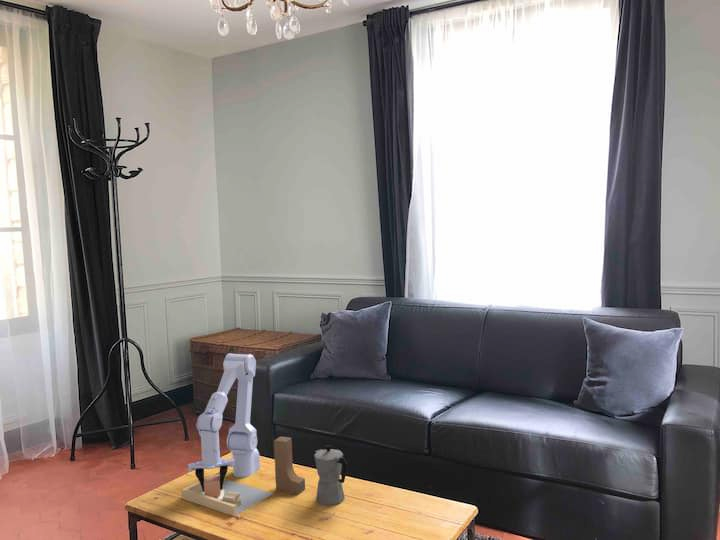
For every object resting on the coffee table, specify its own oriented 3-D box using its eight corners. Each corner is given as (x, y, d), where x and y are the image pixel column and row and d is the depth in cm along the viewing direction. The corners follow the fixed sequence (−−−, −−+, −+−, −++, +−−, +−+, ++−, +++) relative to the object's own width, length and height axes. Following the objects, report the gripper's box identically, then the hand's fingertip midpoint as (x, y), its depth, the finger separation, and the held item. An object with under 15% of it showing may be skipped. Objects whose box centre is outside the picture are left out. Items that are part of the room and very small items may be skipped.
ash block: (229, 503, 190) (229, 491, 190) (240, 504, 189) (240, 492, 188) (223, 509, 186) (222, 496, 186) (234, 510, 185) (233, 498, 185)
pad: (202, 492, 199) (202, 492, 199) (224, 490, 200) (224, 489, 200) (201, 501, 192) (201, 501, 192) (223, 499, 193) (223, 498, 193)
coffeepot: (306, 497, 194) (304, 444, 193) (328, 488, 200) (326, 436, 199) (337, 513, 183) (334, 456, 181) (359, 503, 189) (357, 448, 188)
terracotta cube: (205, 490, 198) (204, 476, 197) (221, 489, 199) (220, 474, 198) (204, 497, 193) (203, 482, 193) (220, 495, 194) (219, 480, 193)
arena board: (223, 480, 210) (222, 470, 209) (274, 495, 196) (273, 484, 196) (182, 500, 195) (181, 489, 195) (234, 518, 181) (233, 506, 181)
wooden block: (305, 491, 199) (303, 438, 198) (299, 496, 195) (296, 443, 194) (282, 487, 203) (280, 435, 201) (275, 492, 199) (273, 440, 197)
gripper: (186, 456, 190) (188, 497, 191) (232, 451, 192) (234, 491, 193) (188, 448, 197) (190, 488, 197) (233, 443, 199) (235, 483, 200)
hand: (212, 489), depth 196 cm, fingers closed on terracotta cube, 5 cm apart
